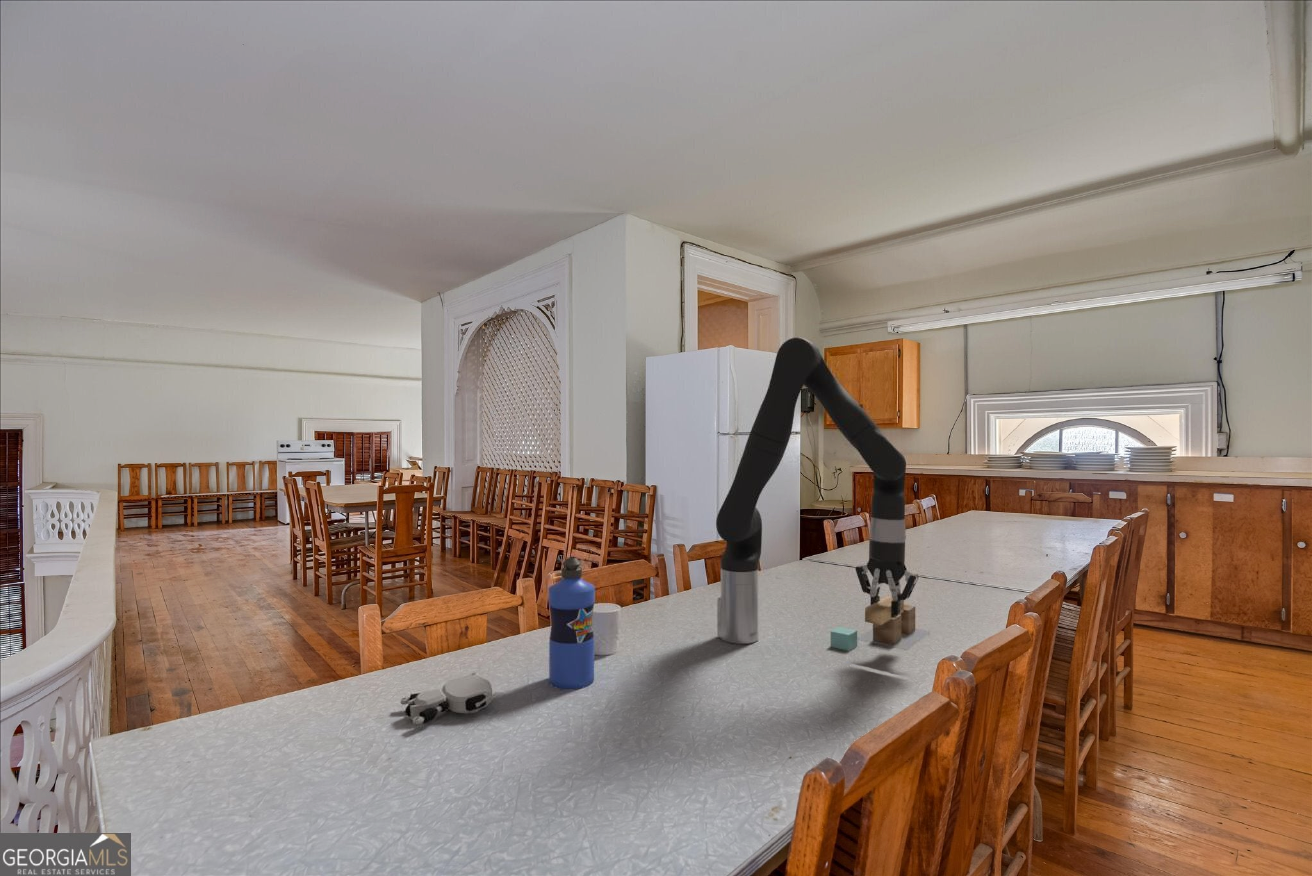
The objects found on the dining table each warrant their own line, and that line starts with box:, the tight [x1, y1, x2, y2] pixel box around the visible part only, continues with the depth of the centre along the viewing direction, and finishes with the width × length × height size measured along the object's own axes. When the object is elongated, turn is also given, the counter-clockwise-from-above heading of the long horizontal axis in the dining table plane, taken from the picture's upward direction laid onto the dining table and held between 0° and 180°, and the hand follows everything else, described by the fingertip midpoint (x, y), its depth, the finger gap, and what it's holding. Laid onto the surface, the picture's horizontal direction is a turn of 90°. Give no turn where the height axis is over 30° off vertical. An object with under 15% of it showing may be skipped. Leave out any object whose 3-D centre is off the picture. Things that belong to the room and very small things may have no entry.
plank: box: [864, 595, 905, 625], centre depth 139 cm, size 4×14×3 cm, turn 140°
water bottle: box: [548, 556, 596, 690], centre depth 127 cm, size 9×9×25 cm
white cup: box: [592, 602, 622, 656], centre depth 145 cm, size 8×8×10 cm
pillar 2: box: [900, 604, 916, 635], centre depth 157 cm, size 5×5×6 cm
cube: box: [830, 626, 858, 652], centre depth 145 cm, size 4×4×4 cm
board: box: [857, 627, 932, 651], centre depth 154 cm, size 12×18×1 cm, turn 139°
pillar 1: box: [872, 614, 901, 645], centre depth 150 cm, size 5×5×6 cm
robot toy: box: [400, 671, 499, 725], centre depth 112 cm, size 12×4×15 cm
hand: (885, 614), depth 139 cm, fingers closed on plank, 3 cm apart
